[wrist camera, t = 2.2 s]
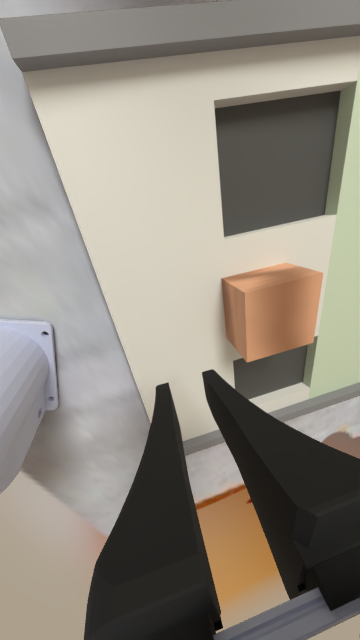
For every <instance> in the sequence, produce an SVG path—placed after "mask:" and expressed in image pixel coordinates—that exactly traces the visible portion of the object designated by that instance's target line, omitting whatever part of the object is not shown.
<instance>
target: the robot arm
mask: <svg viewBox="0 0 360 640" xmlns="http://www.w3.org/2000/svg"><path fill="white" fill-rule="evenodd" d="M44 331H45V332H47V333H48V334H49V335H45V334H44V333H43V332H44ZM202 377H203V383H204V389H205V395H206V400H207V403H208V405H209V408H210V410H211V413H212V416H213V418H214V420H215V422H216V424H217V426H218V428H219V430H220V432H221V434H222V436H223V438H224V440H225V442H226V443H227V445H228V447H229V449H230V451H231V453H232V455H233V457H234V459H235V462H236V464H237V466H238V468H239V471H240V473H241V476H242V478H243V480H244V483H245V485H246V488H247V490H248V493H249V495H250V498H251V500H252V503H253V505H254V508H255V510H256V513H257V515H258V518H259V520H260V523H261V526H262V528H263V531H264V533H265V536H266V538H267V541H268V544H269V546H270V549H271V552H272V554H273V557H274V559H275V562H276V565H277V568H278V570H279V573H280V576H281V578H282V581H283V583H284V586H285V589H286V591H287V594H288V596H289V598H290V600H289V601H287V602H285V603H283V604H281V605H278V606H276V607H274V608H272V609H269V610H267V611H265V612H263V613H261V614H259V615H257V616H255V617H252V618H250V619H248V620H245V621H243V622H241V623H239V624H237V625H234V626H232V627H230V628H228V629H226V630H223V631H221V632H219V633H217V634H216V632H215V631H217V630H219V629H222V628H223V626H222V622H221V617H220V614H221V610H220V606H219V602H218V598H217V594H216V590H215V586H214V581H213V578H212V573H211V570H210V565H209V562H208V557H207V553H206V549H205V545H204V541H203V536H202V533H201V528H200V524H199V520H198V516H197V512H196V508H195V503H194V499H193V495H192V491H191V487H190V482H189V477H188V472H187V466H186V460H185V454H184V447H183V441H182V435H181V429H180V424H179V421H178V417H177V413H176V409H175V405H174V401H173V398H172V394H171V390H170V387H169V383H168V382H167V383H164V384H161V385H157V386H156V395H155V405H154V411H153V417H152V422H151V426H150V430H149V435H148V439H147V442H146V446H145V449H144V453H143V456H142V459H141V462H140V465H139V468H138V470H137V473H136V476H135V479H134V481H133V484H132V486H131V489H130V491H129V494H128V496H127V498H126V501H125V503H124V505H123V507H122V510H121V512H120V514H119V517H118V519H117V521H116V523H115V525H114V527H113V529H112V531H111V533H110V535H109V537H108V539H107V541H106V543H105V545H104V547H103V549H102V552H101V553H100V555H99V558H98V559H97V562H96V565H95V568H94V573H93V577H92V582H91V587H90V592H89V597H88V604H87V612H86V623H85V633H84V640H307V639H309V638H311V637H313V636H315V635H317V634H319V633H321V632H323V631H325V630H327V629H329V628H331V627H334V626H336V625H338V624H340V623H342V622H344V621H346V620H348V619H350V618H352V617H354V616H356V615H358V614H360V459H359V458H356V457H353V456H351V455H349V454H346V453H344V452H341V451H339V450H337V449H334V448H332V447H330V446H328V445H325V444H323V443H321V442H319V441H317V440H315V439H313V438H311V437H309V436H307V435H305V434H303V433H301V432H299V431H297V430H295V429H294V428H292V427H290V426H288V425H286V424H285V423H283V422H281V421H279V420H278V419H276V418H274V417H273V416H271V415H270V414H268V413H267V412H265V411H264V410H262V409H261V408H259V407H258V406H256V405H255V404H254V403H252V402H251V401H249V400H248V399H247V398H245V397H244V396H243V395H242V394H240V393H239V392H238V391H237V390H236V389H234V388H233V387H232V386H231V385H230V384H228V383H227V382H226V381H225V380H224V379H223V378H222V377H221V376H220V375H219V374H218V373H217V372H216V371H215V370H213V369H211V370H208V371H204V372H202ZM51 397H53V398H51ZM58 405H59V401H58V388H57V375H56V363H55V350H54V337H53V327H52V325H51V323H49V322H46V321H27V320H7V319H0V494H1V492H3V491H4V490H5V489H6V488H7V486H9V484H10V483H11V482H12V481H13V479H14V478H15V477H16V475H17V474H18V472H19V471H20V469H21V467H22V464H23V462H24V460H25V457H26V455H27V453H28V450H29V448H30V446H31V443H32V441H33V439H34V436H35V434H36V432H37V429H38V427H39V425H40V422H41V420H42V418H43V415H44V413H45V411H48V410H55V409H57V408H58Z"/></svg>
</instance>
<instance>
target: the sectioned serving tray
mask: <svg viewBox="0 0 360 640" xmlns="http://www.w3.org/2000/svg"><path fill="white" fill-rule="evenodd" d="M0 27H1V29H2V32H3V35H4V38H5V40H6V43H7V46H8V48H9V51H10V54H11V56H12V59H13V60H14V62H15V63H16V64H17V66H18V67H19V69H20V70H21V71H22V73H23V76H24V79H25V82H26V84H27V87H28V90H29V92H30V95H31V98H32V101H33V103H34V106H35V109H36V112H37V114H38V117H39V120H40V123H41V125H42V128H43V131H44V133H45V136H46V139H47V142H48V144H49V147H50V150H51V153H52V155H53V158H54V161H55V163H56V166H57V169H58V172H59V174H60V177H61V180H62V183H63V185H64V188H65V191H66V193H67V196H68V199H69V202H70V204H71V207H72V210H73V213H74V215H75V218H76V221H77V223H78V226H79V229H80V232H81V234H82V237H83V240H84V243H85V245H86V248H87V251H88V253H89V256H90V259H91V262H92V264H93V267H94V270H95V273H96V275H97V278H98V281H99V283H100V286H101V289H102V292H103V294H104V297H105V300H106V303H107V305H108V308H109V311H110V313H111V316H112V319H113V322H114V324H115V327H116V330H117V333H118V335H119V338H120V341H121V343H122V346H123V349H124V352H125V354H126V357H127V360H128V363H129V365H130V368H131V371H132V374H133V376H134V379H135V382H136V384H137V387H138V390H139V393H140V395H141V398H142V401H143V404H144V406H145V409H146V412H147V414H148V417H149V420H150V423H151V422H152V417H153V411H154V405H155V395H156V386H157V385H161V384H164V383H167V382H168V383H169V387H170V390H171V394H172V398H173V401H174V405H175V409H176V413H177V417H178V421H179V424H180V429H181V435H182V441H183V447H184V454H185V456H186V455H189V454H191V453H194V452H197V451H200V450H203V449H206V448H209V447H212V446H215V445H218V444H221V443H223V442H225V440H224V438H223V436H222V434H221V432H220V430H219V428H218V426H217V424H216V422H215V420H214V418H213V416H212V413H211V410H210V408H209V405H208V403H207V400H206V395H205V389H204V383H203V377H202V372H204V371H208V370H211V369H213V370H215V371H216V372H217V373H218V374H219V375H220V376H221V377H222V378H223V379H224V380H225V381H226V382H227V383H228V384H230V385H231V386H232V387H233V388H234V389H236V390H237V391H238V392H239V393H240V394H242V395H243V396H244V397H245V398H247V399H248V400H249V401H251V402H252V403H254V404H255V405H256V406H258V407H259V408H261V409H262V410H264V411H265V412H267V413H268V414H270V415H271V416H273V417H274V418H276V419H278V420H279V421H281V422H284V421H287V420H290V419H293V418H296V417H299V416H302V415H305V414H308V413H311V412H314V411H316V410H319V409H322V408H325V407H328V406H331V405H334V404H337V403H340V402H343V401H345V400H348V399H351V398H354V397H357V396H360V0H229V1H216V2H203V3H190V4H177V5H165V6H152V7H139V8H126V9H113V10H101V11H88V12H75V13H62V14H49V15H37V16H24V17H11V18H0ZM282 263H290V264H293V265H297V266H301V267H304V268H308V269H312V270H315V271H319V272H323V279H322V286H321V293H320V300H319V307H318V314H317V321H316V328H315V335H314V342H313V343H311V344H307V345H304V346H301V347H297V348H294V349H291V350H287V351H284V352H281V353H277V354H274V355H271V356H267V357H264V358H261V359H257V360H254V361H251V362H246V361H245V360H244V358H243V357H242V356H241V355H240V354H239V352H238V351H237V350H236V349H235V348H234V346H233V345H232V344H231V343H230V342H229V340H228V339H227V338H226V327H225V315H224V304H223V292H222V281H221V278H225V277H229V276H233V275H237V274H241V273H245V272H249V271H253V270H257V269H261V268H265V267H269V266H274V265H278V264H282Z"/></svg>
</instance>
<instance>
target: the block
mask: <svg viewBox="0 0 360 640" xmlns="http://www.w3.org/2000/svg"><path fill="white" fill-rule="evenodd" d="M322 279H323V272H319V271H315V270H312V269H308V268H304V267H301V266H297V265H293V264H290V263H282V264H278V265H274V266H269V267H265V268H261V269H257V270H253V271H249V272H245V273H241V274H237V275H233V276H229V277H225V278H221V281H222V292H223V304H224V315H225V327H226V338H227V339H228V340H229V342H230V343H231V344H232V345H233V346H234V348H235V349H236V350H237V351H238V352H239V354H240V355H241V356H242V357H243V358H244V360H245V361H246V362H251V361H254V360H257V359H261V358H264V357H267V356H271V355H274V354H277V353H281V352H284V351H287V350H291V349H294V348H297V347H301V346H304V345H307V344H311V343H313V342H314V335H315V328H316V321H317V314H318V307H319V300H320V293H321V286H322Z"/></svg>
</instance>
